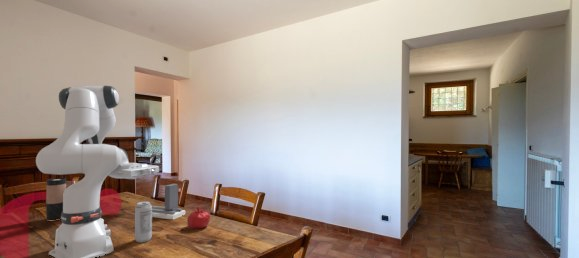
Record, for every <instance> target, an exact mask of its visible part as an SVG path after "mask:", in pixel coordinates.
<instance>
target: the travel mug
mask: <svg viewBox="0 0 579 258" xmlns="http://www.w3.org/2000/svg"><path fill="white" fill-rule="evenodd" d="M66 188H67V177H59V178H57V179H54V178H49V179H46V190H45V191H46V194H45V196H46V198H45V199H46V200H45V204H46V205H45V206H46V207H45V208H46V221H47V220H56V219H60V218H61V214H62V212H63V193H64V191H65V189H66Z"/></svg>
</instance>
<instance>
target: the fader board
mask: <svg viewBox="0 0 579 258" xmlns="http://www.w3.org/2000/svg"><path fill="white" fill-rule="evenodd" d="M151 206H152V218H156V219H157V218H158V219H165V220H175V219H178V218H180V217H183V216H184V215H186V210H184V209H182V208H178V207H177V208H178V211H176V212H175V211H166V210H165V206H161V205H160V206H157V205H151ZM182 215H183V216H182Z"/></svg>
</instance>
